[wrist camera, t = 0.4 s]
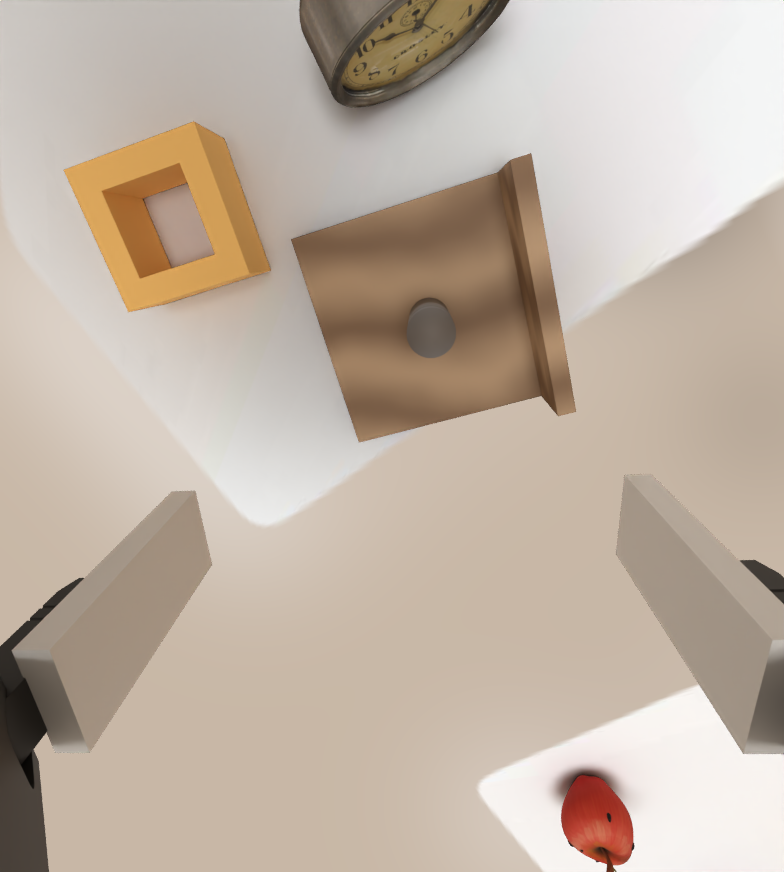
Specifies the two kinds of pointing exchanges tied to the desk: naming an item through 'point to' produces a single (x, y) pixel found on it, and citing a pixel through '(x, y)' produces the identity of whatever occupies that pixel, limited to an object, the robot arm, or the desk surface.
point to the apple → (597, 822)
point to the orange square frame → (133, 228)
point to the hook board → (462, 273)
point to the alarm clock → (390, 42)
